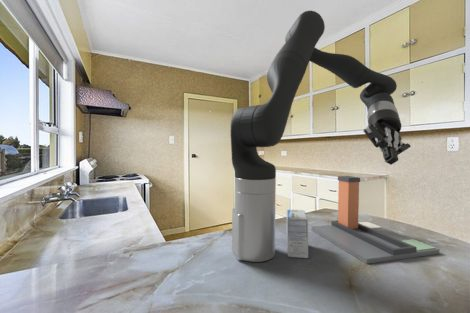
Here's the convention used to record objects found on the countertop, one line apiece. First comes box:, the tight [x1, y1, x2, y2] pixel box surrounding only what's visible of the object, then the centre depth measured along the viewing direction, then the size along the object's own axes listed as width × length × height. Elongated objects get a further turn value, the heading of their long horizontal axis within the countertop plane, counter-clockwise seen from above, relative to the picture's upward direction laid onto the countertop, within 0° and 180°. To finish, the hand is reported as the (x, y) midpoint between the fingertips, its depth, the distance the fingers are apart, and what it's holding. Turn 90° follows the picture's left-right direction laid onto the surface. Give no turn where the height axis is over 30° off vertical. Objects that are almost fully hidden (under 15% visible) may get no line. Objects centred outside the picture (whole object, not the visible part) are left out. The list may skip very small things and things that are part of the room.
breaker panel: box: [310, 219, 441, 264], centre depth 58 cm, size 20×20×2 cm
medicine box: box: [286, 209, 309, 259], centre depth 52 cm, size 8×4×9 cm, turn 168°
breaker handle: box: [337, 175, 361, 229], centre depth 64 cm, size 4×4×14 cm
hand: (391, 161), depth 53 cm, fingers closed
